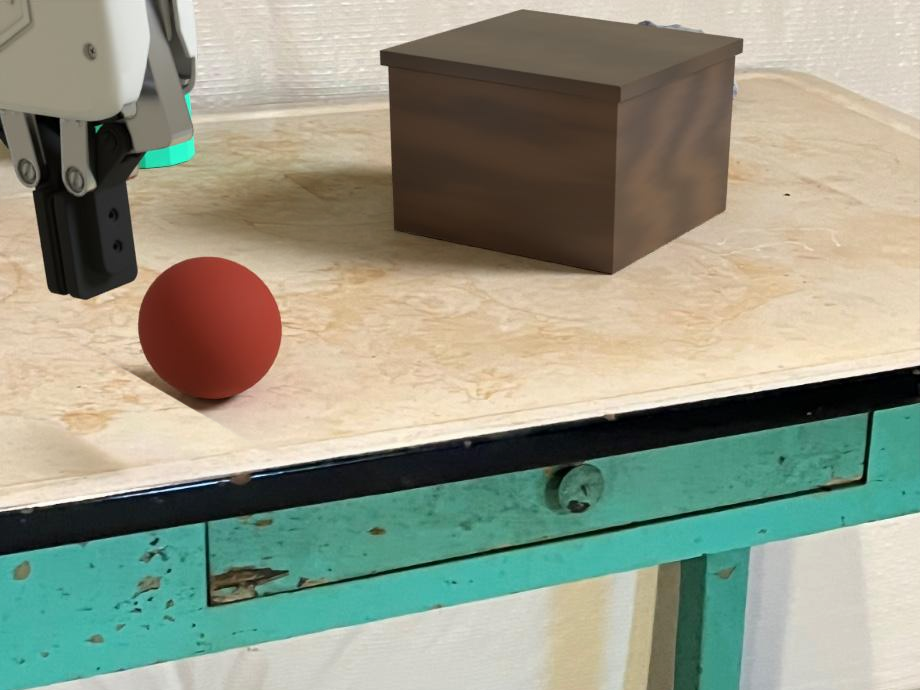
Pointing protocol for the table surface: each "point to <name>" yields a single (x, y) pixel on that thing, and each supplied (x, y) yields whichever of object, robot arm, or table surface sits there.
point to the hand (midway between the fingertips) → (94, 286)
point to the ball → (209, 327)
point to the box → (560, 135)
